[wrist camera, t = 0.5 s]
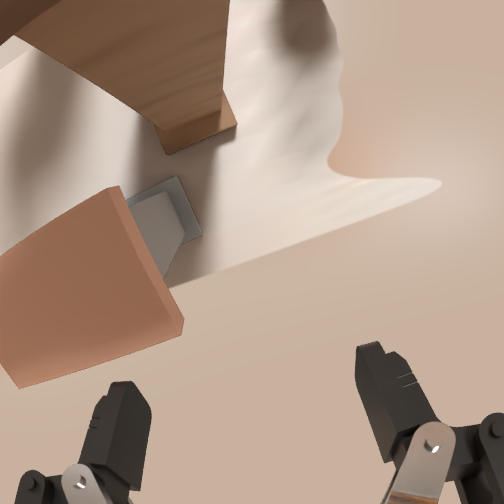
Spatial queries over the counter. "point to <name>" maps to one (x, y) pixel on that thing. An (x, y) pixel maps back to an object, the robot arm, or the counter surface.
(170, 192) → the ledge
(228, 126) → the stand
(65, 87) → the counter surface
